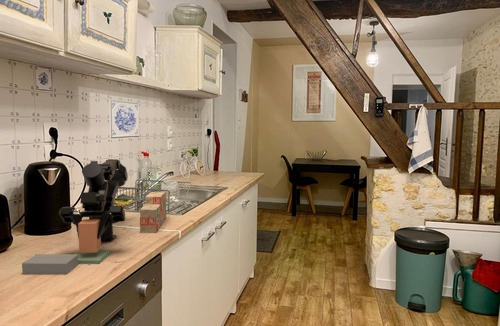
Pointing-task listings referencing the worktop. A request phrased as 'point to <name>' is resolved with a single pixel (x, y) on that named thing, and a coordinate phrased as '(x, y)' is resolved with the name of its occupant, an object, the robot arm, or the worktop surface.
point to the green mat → (93, 257)
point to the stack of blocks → (153, 212)
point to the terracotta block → (89, 236)
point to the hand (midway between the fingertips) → (88, 238)
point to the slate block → (50, 264)
